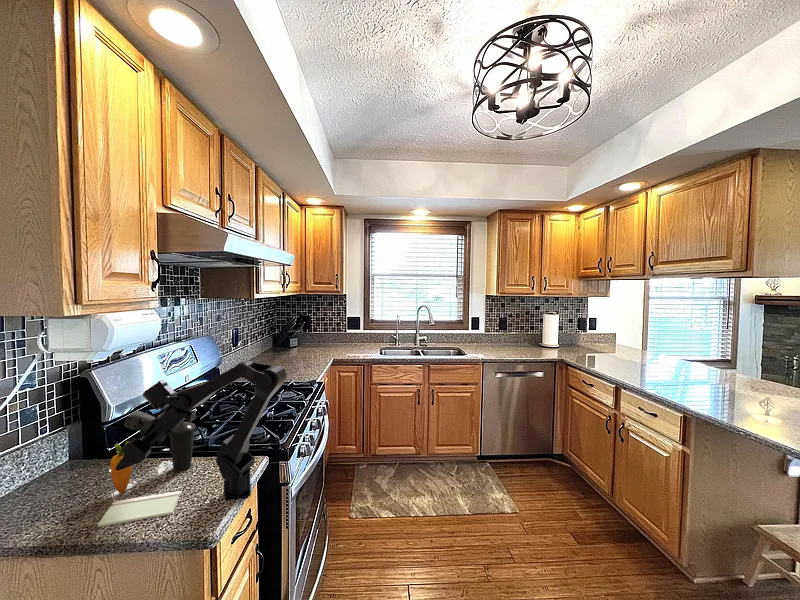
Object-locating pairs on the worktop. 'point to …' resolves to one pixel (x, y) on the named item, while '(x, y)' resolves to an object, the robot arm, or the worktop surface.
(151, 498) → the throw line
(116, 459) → the carrot
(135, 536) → the worktop surface
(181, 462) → the drinking cup
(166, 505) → the mat
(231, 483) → the robot arm
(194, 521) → the worktop surface
